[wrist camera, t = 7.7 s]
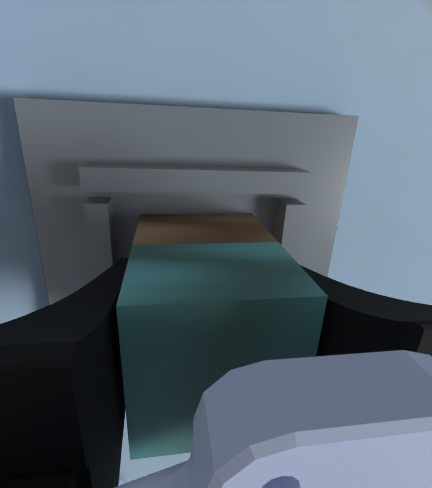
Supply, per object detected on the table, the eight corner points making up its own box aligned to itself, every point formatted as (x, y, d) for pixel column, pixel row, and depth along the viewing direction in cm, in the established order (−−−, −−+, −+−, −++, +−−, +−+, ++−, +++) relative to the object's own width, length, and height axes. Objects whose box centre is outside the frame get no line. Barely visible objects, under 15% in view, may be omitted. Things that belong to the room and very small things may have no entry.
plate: (69, 369, 15) (56, 403, 13) (25, 99, 11) (-3, 95, 9) (301, 352, 17) (318, 380, 15) (344, 116, 13) (374, 115, 11)
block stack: (145, 311, 14) (130, 459, 8) (140, 213, 12) (116, 306, 6) (244, 306, 14) (300, 439, 8) (252, 213, 13) (327, 296, 7)
